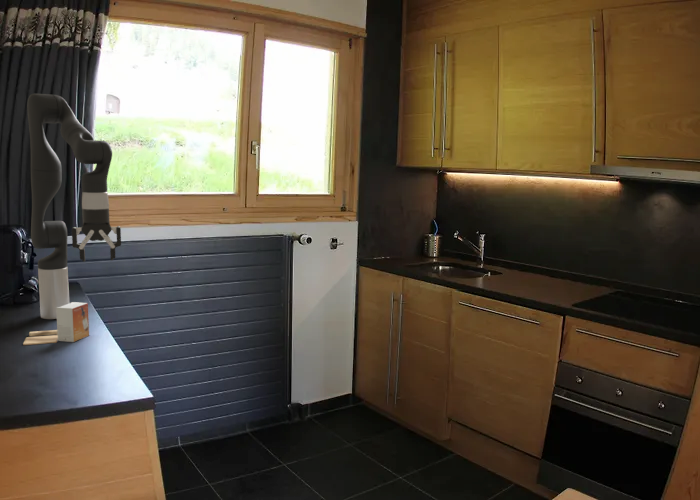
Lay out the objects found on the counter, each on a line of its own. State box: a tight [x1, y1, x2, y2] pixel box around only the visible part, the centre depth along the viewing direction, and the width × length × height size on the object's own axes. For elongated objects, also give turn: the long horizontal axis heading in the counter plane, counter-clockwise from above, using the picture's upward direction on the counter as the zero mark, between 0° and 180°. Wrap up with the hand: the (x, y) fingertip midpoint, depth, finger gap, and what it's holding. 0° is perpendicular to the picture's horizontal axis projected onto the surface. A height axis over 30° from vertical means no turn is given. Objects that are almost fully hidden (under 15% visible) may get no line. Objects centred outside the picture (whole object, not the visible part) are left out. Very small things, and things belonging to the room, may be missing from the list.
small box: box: [56, 301, 90, 343], centre depth 191 cm, size 8×6×10 cm
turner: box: [28, 329, 58, 337], centre depth 196 cm, size 14×5×1 cm, turn 112°
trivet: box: [22, 334, 58, 346], centre depth 189 cm, size 7×9×1 cm
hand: (97, 260), depth 191 cm, fingers open, 7 cm apart
